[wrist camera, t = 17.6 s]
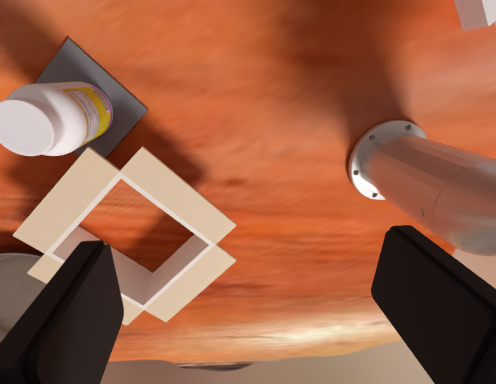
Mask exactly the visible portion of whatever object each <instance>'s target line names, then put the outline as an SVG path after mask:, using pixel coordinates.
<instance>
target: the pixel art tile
mask: <svg viewBox="0 0 496 384" xmlns="http://www.w3.org/2000/svg"><path fill="white" fill-rule="evenodd" d="M454 2H455V5H456V9H457V12H458V15H459V19H460V22H461V26H462V29H463V31H465V30H471V29H476V28H482V27H488V26H490V25H491V24H492V23H494V25H495V29H496V0H454Z"/></svg>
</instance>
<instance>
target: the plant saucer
mask: <svg viewBox="0 0 496 384" xmlns="http://www.w3.org/2000/svg"><path fill="white" fill-rule="evenodd" d="M43 255H44V254H38V253H31V252H7V253H0V343H1V341H2V340H3V339H4V338H5V336H6V335H7V334H8V332H9V331H10V330H11V329H12V327H13V326H14V325H15V324H16V322H17V321H18V320H19V319H20V317H21V316H22V315H23V313H24V312H25V311H26V310H27V308H28V307H29V306H30V305H31V303H32V302H33V301H34V300H35V298H36V297H37V296H38V295H39V293H40V292H41V291H42V290H43V288H44V287H45V286H46V285H47V284H46V283H44V282H42V281H40V280H38V279H37V278H35V277H33V276H31V275H29V274H27V272H28V271H29V270H30V269H31V268H32V267H33V266H34V265H35V264H36V263H37V262H38V260H39V259H40V258H41V257H42V256H43Z"/></svg>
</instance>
